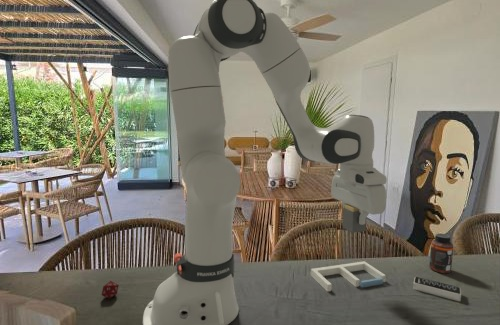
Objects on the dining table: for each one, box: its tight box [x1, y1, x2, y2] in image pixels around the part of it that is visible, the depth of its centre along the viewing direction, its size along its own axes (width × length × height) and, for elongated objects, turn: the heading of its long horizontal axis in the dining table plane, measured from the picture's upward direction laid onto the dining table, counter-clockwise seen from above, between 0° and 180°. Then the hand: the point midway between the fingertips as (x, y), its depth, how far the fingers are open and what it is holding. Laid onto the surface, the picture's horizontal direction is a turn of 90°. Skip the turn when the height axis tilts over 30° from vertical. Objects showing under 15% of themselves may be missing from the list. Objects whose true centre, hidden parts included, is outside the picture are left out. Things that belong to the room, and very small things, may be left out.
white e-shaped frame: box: [310, 261, 387, 293], centre depth 89 cm, size 19×10×2 cm, turn 107°
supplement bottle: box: [428, 233, 454, 274], centre depth 95 cm, size 6×6×11 cm
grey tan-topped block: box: [342, 204, 367, 234], centre depth 86 cm, size 4×4×7 cm
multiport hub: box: [412, 276, 462, 302], centre depth 83 cm, size 4×11×2 cm, turn 57°
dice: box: [101, 280, 119, 300], centre depth 78 cm, size 4×4×4 cm
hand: (354, 220), depth 86 cm, fingers closed on grey tan-topped block, 4 cm apart
